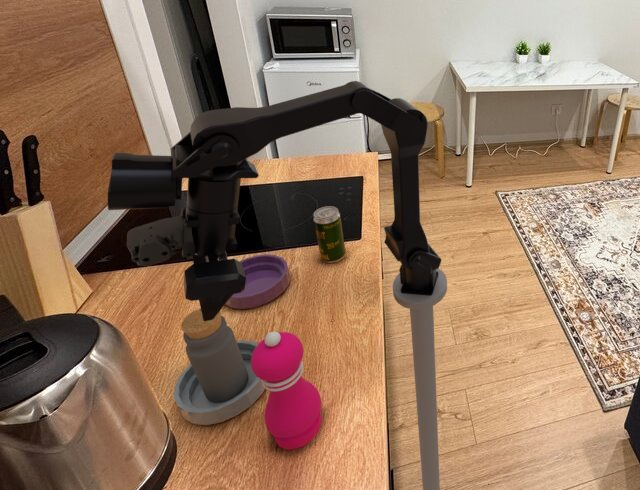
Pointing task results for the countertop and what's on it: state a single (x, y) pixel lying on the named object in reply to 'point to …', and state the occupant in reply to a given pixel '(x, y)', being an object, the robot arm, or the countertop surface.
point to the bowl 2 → (261, 281)
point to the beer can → (329, 234)
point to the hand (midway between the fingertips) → (204, 299)
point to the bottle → (214, 356)
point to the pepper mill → (287, 390)
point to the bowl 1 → (209, 412)
